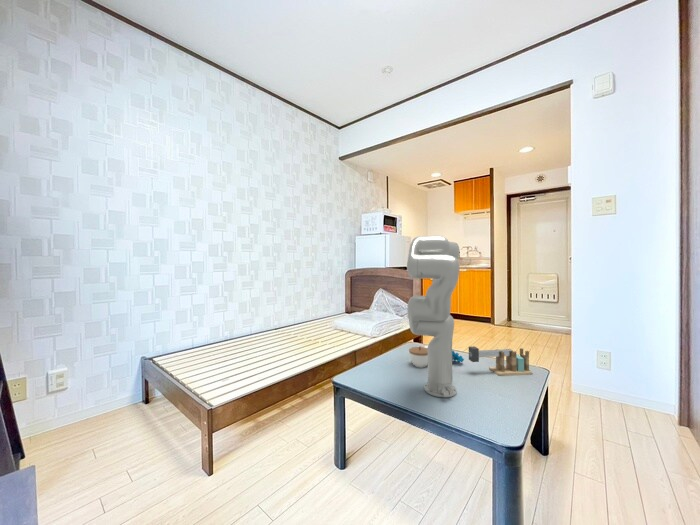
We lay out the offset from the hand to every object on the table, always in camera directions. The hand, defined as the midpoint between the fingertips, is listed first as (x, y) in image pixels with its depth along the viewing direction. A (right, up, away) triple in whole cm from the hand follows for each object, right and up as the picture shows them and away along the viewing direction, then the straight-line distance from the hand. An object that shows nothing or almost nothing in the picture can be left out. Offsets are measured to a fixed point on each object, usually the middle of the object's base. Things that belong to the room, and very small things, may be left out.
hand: (439, 305), depth 141 cm
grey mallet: (+22, -24, -7) cm, 33 cm away
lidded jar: (-9, -31, +4) cm, 32 cm away
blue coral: (+9, -30, +7) cm, 32 cm away
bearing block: (+31, -30, -6) cm, 44 cm away
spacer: (+35, -26, -6) cm, 44 cm away
